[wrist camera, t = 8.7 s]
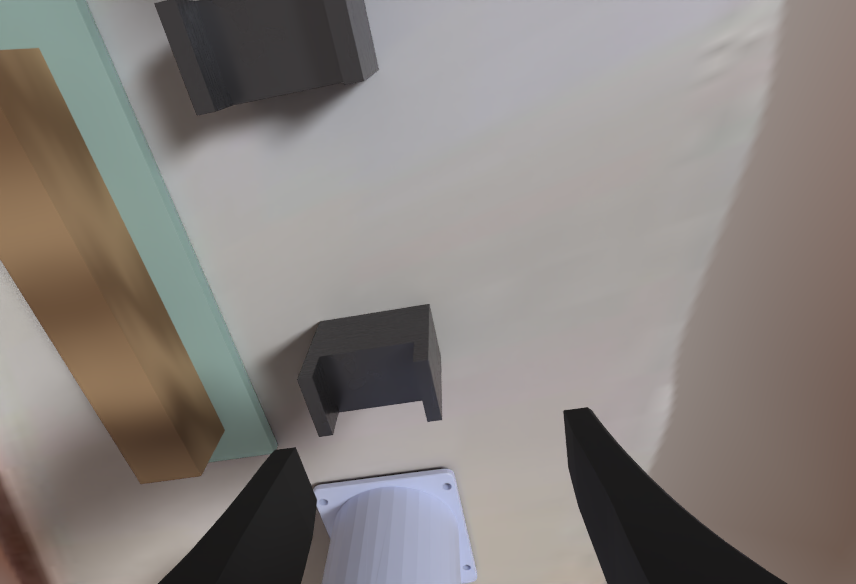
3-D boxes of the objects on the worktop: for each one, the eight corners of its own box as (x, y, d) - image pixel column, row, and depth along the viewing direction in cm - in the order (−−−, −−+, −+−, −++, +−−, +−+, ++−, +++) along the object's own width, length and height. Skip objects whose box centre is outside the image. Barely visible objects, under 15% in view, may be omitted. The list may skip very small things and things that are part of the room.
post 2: (441, 357, 25) (442, 419, 21) (337, 373, 25) (318, 436, 21) (429, 304, 23) (428, 359, 19) (319, 321, 24) (297, 379, 20)
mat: (277, 445, 27) (274, 453, 27) (156, 461, 28) (151, 470, 28) (72, -30, 17) (61, -32, 17) (-108, 14, 18) (-124, 14, 18)
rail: (224, 430, 26) (201, 476, 23) (170, 438, 26) (140, 484, 24) (38, 47, 18) (-30, 51, 15) (-37, 65, 18) (-118, 71, 16)
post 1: (379, 69, 19) (364, 80, 15) (245, 97, 19) (196, 115, 15) (358, -24, 17) (336, -40, 14) (215, 8, 18) (154, 3, 14)
